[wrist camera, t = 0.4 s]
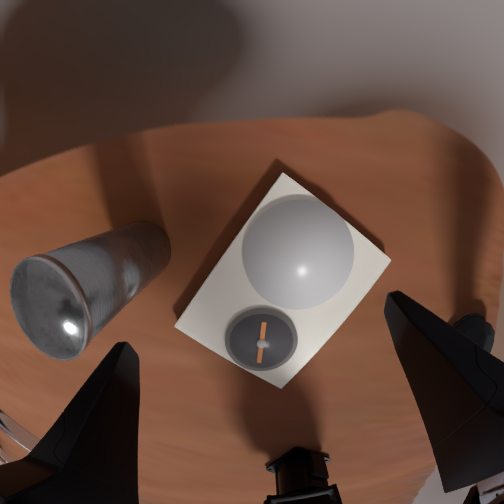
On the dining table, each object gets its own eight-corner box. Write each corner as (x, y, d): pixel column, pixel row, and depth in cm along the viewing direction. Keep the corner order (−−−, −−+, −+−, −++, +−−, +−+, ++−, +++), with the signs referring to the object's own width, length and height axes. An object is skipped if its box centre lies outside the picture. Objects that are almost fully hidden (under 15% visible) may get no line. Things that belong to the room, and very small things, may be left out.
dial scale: (280, 381, 26) (281, 392, 25) (177, 320, 25) (172, 329, 23) (385, 257, 24) (394, 261, 22) (281, 173, 22) (283, 171, 20)
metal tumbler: (154, 288, 24) (72, 378, 11) (110, 255, 24) (4, 314, 10) (182, 242, 24) (101, 306, 10) (135, 208, 23) (21, 234, 9)
